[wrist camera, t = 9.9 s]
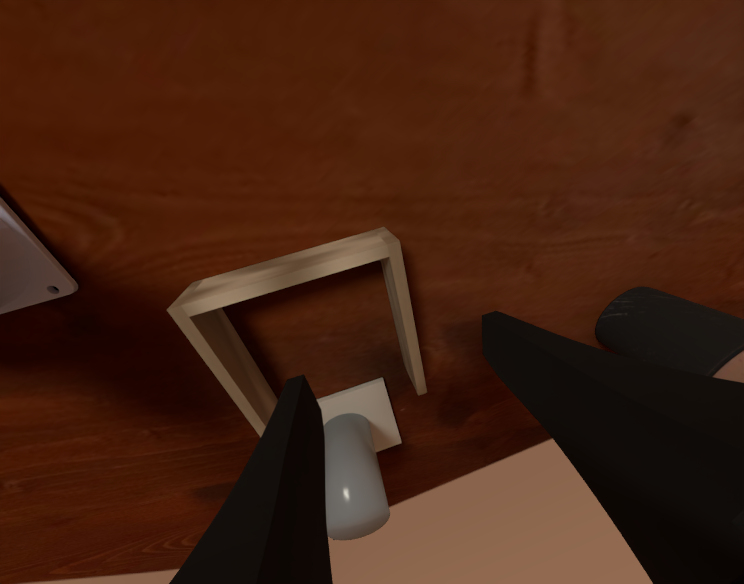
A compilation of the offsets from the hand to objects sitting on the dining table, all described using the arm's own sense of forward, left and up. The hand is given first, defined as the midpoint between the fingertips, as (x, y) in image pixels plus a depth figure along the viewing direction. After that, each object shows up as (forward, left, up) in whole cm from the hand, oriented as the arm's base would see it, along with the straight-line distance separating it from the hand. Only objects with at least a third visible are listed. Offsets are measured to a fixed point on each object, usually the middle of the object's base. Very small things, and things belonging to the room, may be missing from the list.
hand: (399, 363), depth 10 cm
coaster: (-6, -16, -10) cm, 20 cm away
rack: (-4, -4, -10) cm, 11 cm away
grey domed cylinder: (-6, -17, -10) cm, 20 cm away
